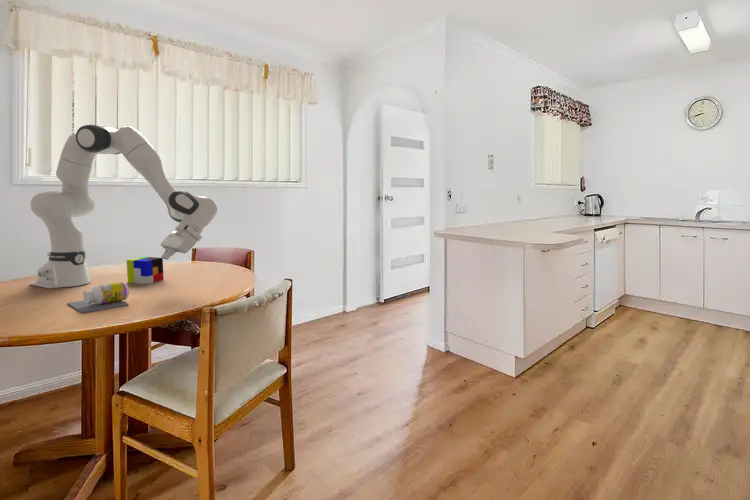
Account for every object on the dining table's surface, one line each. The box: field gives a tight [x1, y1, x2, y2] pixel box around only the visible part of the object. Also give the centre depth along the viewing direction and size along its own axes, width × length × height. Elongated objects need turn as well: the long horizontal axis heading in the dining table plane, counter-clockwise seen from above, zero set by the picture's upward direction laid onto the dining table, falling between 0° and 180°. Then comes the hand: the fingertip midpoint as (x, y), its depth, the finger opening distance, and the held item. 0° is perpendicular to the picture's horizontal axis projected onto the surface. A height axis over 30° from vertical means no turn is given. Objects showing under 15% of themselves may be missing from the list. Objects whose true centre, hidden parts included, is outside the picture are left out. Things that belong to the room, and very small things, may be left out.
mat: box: [67, 300, 129, 314], centre depth 153 cm, size 14×16×1 cm
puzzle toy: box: [126, 256, 165, 285], centre depth 192 cm, size 10×10×10 cm
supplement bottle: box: [82, 281, 130, 305], centre depth 153 cm, size 7×7×13 cm
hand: (164, 258), depth 169 cm, fingers closed
